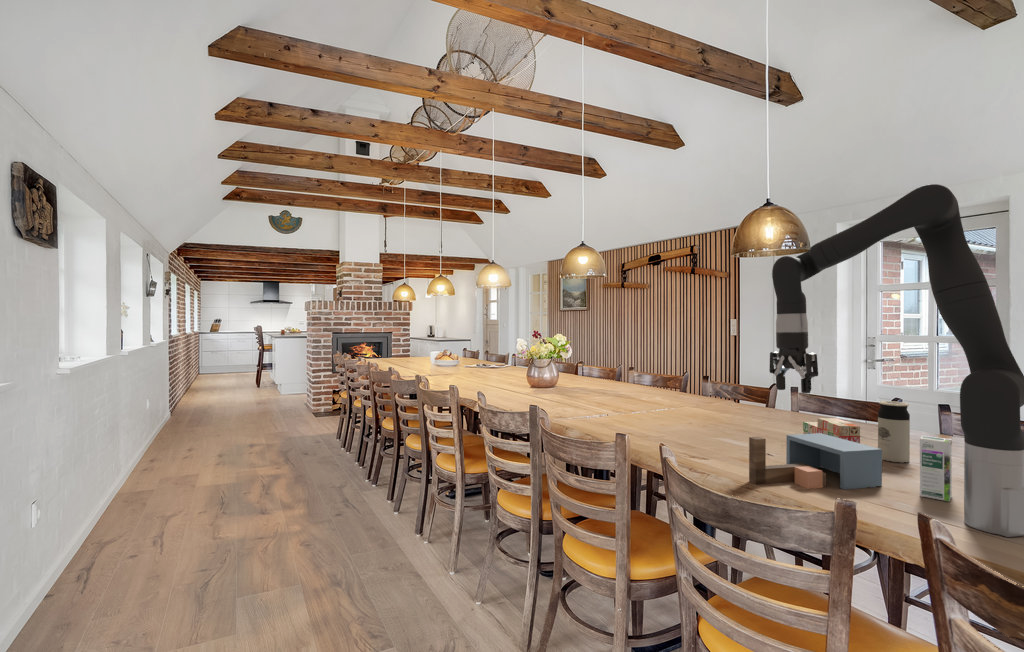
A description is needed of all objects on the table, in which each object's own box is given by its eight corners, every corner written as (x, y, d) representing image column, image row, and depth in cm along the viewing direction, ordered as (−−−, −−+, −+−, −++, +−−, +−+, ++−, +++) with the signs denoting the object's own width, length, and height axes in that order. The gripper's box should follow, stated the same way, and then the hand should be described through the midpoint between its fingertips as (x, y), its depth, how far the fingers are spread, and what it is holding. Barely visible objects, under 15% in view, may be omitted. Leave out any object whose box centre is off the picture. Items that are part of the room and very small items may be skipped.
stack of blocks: (802, 448, 173) (802, 412, 173) (821, 448, 173) (821, 413, 173) (838, 465, 152) (838, 425, 152) (860, 466, 151) (860, 425, 151)
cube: (822, 488, 131) (822, 470, 131) (807, 489, 130) (807, 471, 130) (808, 482, 135) (808, 466, 135) (794, 483, 134) (794, 467, 134)
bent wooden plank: (825, 486, 132) (826, 440, 132) (769, 490, 128) (769, 443, 128) (802, 477, 139) (803, 434, 139) (749, 481, 136) (749, 437, 136)
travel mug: (898, 456, 162) (898, 401, 162) (915, 463, 154) (916, 405, 154) (872, 456, 162) (872, 400, 162) (888, 462, 154) (888, 404, 154)
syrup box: (919, 496, 124) (919, 438, 124) (922, 491, 128) (922, 434, 128) (949, 502, 120) (949, 441, 120) (952, 496, 124) (952, 437, 124)
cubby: (881, 486, 132) (881, 449, 132) (844, 489, 129) (844, 451, 129) (820, 465, 151) (820, 433, 151) (786, 467, 149) (786, 434, 149)
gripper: (825, 330, 129) (827, 393, 129) (783, 331, 143) (784, 388, 142) (801, 330, 127) (802, 394, 127) (760, 331, 141) (762, 389, 141)
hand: (793, 391), depth 135 cm, fingers open, 8 cm apart
